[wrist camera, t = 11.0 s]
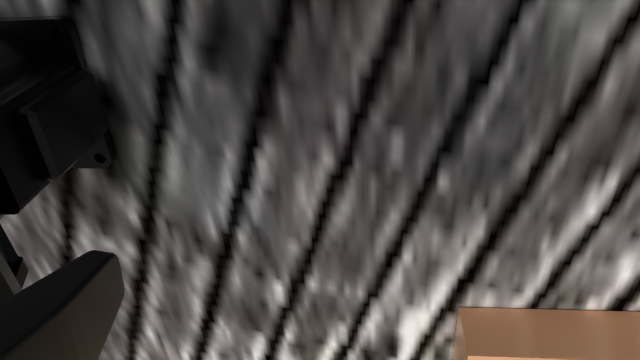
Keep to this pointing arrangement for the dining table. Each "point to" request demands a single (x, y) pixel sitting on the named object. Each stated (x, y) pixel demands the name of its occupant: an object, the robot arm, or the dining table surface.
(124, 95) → the dining table surface
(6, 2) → the dining table surface
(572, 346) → the terracotta plinth
